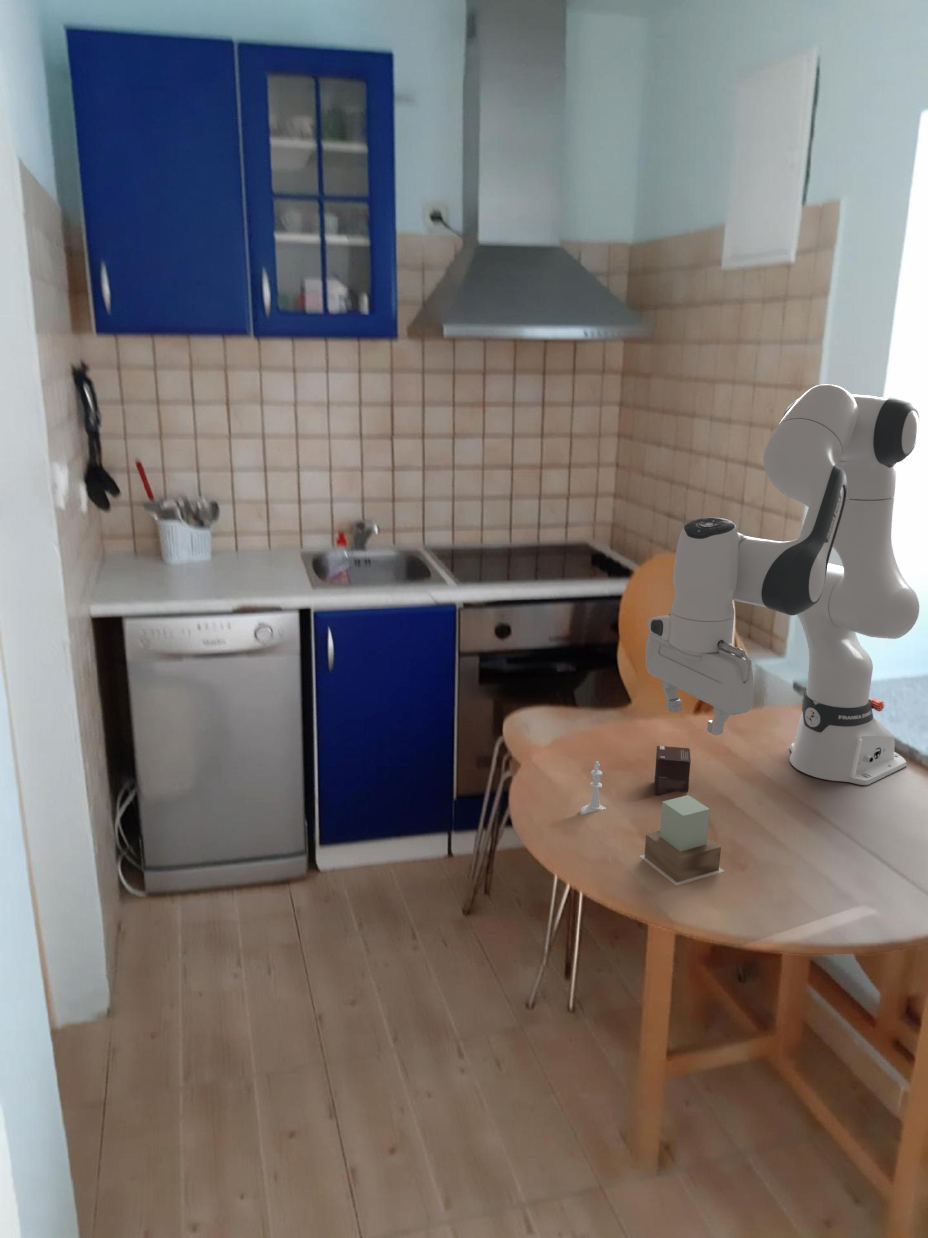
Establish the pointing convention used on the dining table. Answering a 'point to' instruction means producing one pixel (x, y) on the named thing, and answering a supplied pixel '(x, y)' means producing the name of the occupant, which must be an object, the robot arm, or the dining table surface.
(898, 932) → the dining table surface
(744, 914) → the dining table surface
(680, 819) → the sage block
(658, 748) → the box
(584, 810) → the chess piece
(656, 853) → the base block
